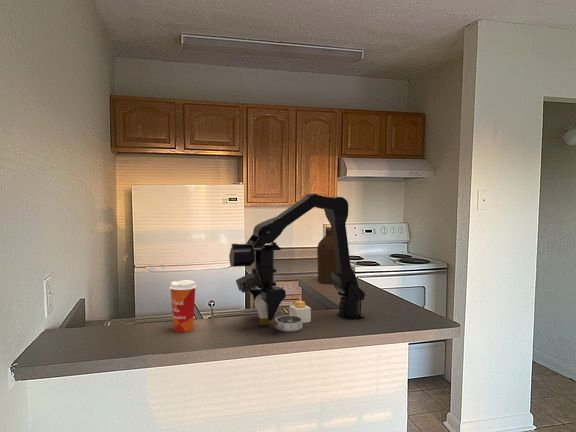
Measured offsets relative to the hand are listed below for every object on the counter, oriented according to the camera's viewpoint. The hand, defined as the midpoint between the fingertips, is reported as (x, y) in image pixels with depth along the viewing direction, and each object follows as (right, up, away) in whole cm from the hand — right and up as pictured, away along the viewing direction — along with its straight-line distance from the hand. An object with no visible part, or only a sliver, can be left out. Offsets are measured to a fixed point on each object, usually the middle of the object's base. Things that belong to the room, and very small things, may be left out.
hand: (263, 315), depth 129 cm
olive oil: (+26, 0, +63) cm, 68 cm away
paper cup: (-24, -3, -4) cm, 24 cm away
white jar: (+11, -3, +6) cm, 13 cm away
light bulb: (0, -3, 0) cm, 3 cm away
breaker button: (+11, 0, +5) cm, 12 cm away
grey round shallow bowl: (+8, -3, -2) cm, 8 cm away
